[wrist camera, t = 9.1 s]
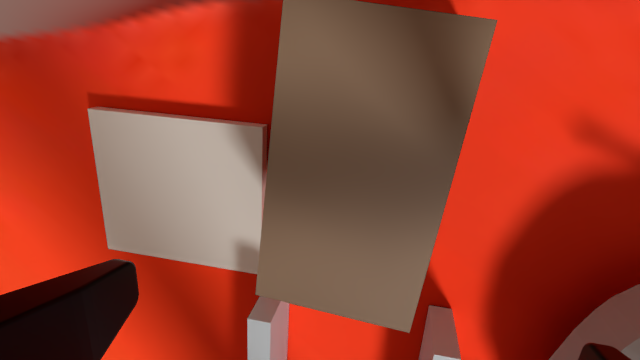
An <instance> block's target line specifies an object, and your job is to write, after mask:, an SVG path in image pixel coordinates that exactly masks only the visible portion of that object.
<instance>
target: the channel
mask: <svg viewBox="0 0 640 360" xmlns="http://www.w3.org/2000/svg"><path fill="white" fill-rule="evenodd" d="M288 322H289V303H287V302H283V301H279V300H275V299H271V298H267V297H263V296H260V297H259V299H258V300H257V302H256V304H255V306H254V308H253V309H252V311H251V313H250V315H249V317H248V318H247V342H248V360H287V347H288ZM419 360H461V356H460V351H459V345H458V340H457V334H456V329H455V323H454V318H453V312H452V309H449V308H444V307H438V306H432V305H429V308H428V313H427V318H426V323H425V329H424V334H423V339H422V344H421V349H420V355H419Z"/></svg>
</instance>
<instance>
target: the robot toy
mask: <svg viewBox="0 0 640 360" xmlns="http://www.w3.org/2000/svg"><path fill="white" fill-rule="evenodd" d="M587 343H597V344H602V345H608V346H612V347H614V348H616V349H617V350H619V351H620V352H622V353H623V354H624V355H626V356H627V357H629V358H630V359H631V360H640V284H638V285H636V286H634V287H632V288H630V289H628V290H626V291H624V292H622V293H619V294H616V295H614V296H613V297H611V298H610V299H608V300H607V301H606V302H604V303H603V304H602V305H600V306H599V307H598V308H596V309H595V310H594V311H593V312H592V313H591V314H590V315H589V316H588V317H586V318H585V319H584V320H583V321H582V322H581V323H580V324H579V325H578V326H577V327H576V328H575V329H574V330H573V331H572V332H571V333H570V335H569V336H568V337H567V338H566V339H565V341H564V342H563V343H562V344H561V345H560V347H559V348H558V349H557V350H556V351H555V353H554V354H553V355H552V356H551V357H550V359H549V360H578V358H579V355H580V353H581V350H582V348H583V346H584V345H585V344H587Z"/></svg>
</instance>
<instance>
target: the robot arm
mask: <svg viewBox="0 0 640 360" xmlns="http://www.w3.org/2000/svg"><path fill="white" fill-rule="evenodd" d="M138 296H139V291H138V282H137V274H136V267H135V265H134V263H132V262H131V261H125V260H120V259H113V260H109V261H106V262H103V263H100V264H97V265H94V266H91V267H87V268H84V269H81V270H78V271H75V272H72V273H69V274H65V275H62V276H59V277H56V278H53V279H50V280H47V281H44V282H40V283H37V284H34V285H31V286H28V287H25V288H22V289H18V290H15V291H12V292H9V293H6V294H3V295H0V360H101V358H102V357H103V355H104V354H105V352H106V351H107V349H108V347H109V346H110V344H111V343H112V341H113V340H114V338H115V337H116V335H117V333H118V332H119V330H120V329H121V327H122V326H123V324H124V323H125V321H126V319H127V318H128V316H129V315H130V313H131V312H132V310H133V309H134V307H135V305H136V303H137V301H138ZM578 360H631V359H630V358H629V357H627V356H626V355H624V354H623V353H622V352H620V351H619V350H617V349H616V348H614V347H612V346H608V345H602V344H597V343H587V344H585V345H584V346H583V348H582V350H581V353H580V355H579V358H578Z"/></svg>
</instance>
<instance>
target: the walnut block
mask: <svg viewBox="0 0 640 360" xmlns="http://www.w3.org/2000/svg"><path fill="white" fill-rule="evenodd" d="M496 23H497V20H493V19H486V18H479V17H471V16H464V15H457V14H449V13H442V12H435V11H427V10H420V9H413V8H406V7H398V6H391V5H384V4H376V3H369V2H362V1H355V0H283V7H282V18H281V28H280V39H279V49H278V60H277V71H276V81H275V92H274V102H273V113H272V123H271V134H270V145H269V155H268V166H267V176H266V187H265V198H264V208H263V219H262V229H261V240H260V251H259V261H258V272H257V282H256V293H255V295H259V296H263V297H267V298H271V299H275V300H279V301H283V302H287V303H291V304H295V305H299V306H303V307H307V308H311V309H315V310H319V311H323V312H327V313H331V314H335V315H339V316H343V317H347V318H351V319H355V320H359V321H363V322H367V323H371V324H375V325H379V326H383V327H387V328H391V329H395V330H399V331H403V332H407V333H410V329H411V326H412V322H413V319H414V315H415V312H416V308H417V304H418V301H419V297H420V294H421V290H422V287H423V283H424V280H425V276H426V272H427V269H428V265H429V262H430V258H431V255H432V251H433V247H434V244H435V240H436V237H437V233H438V230H439V226H440V223H441V219H442V215H443V212H444V208H445V205H446V201H447V198H448V194H449V191H450V187H451V183H452V180H453V176H454V173H455V169H456V166H457V162H458V158H459V155H460V151H461V148H462V144H463V141H464V137H465V134H466V130H467V126H468V123H469V119H470V116H471V112H472V109H473V105H474V102H475V98H476V94H477V91H478V87H479V84H480V80H481V77H482V73H483V69H484V66H485V62H486V59H487V55H488V52H489V48H490V45H491V41H492V37H493V34H494V30H495V27H496Z"/></svg>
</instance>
